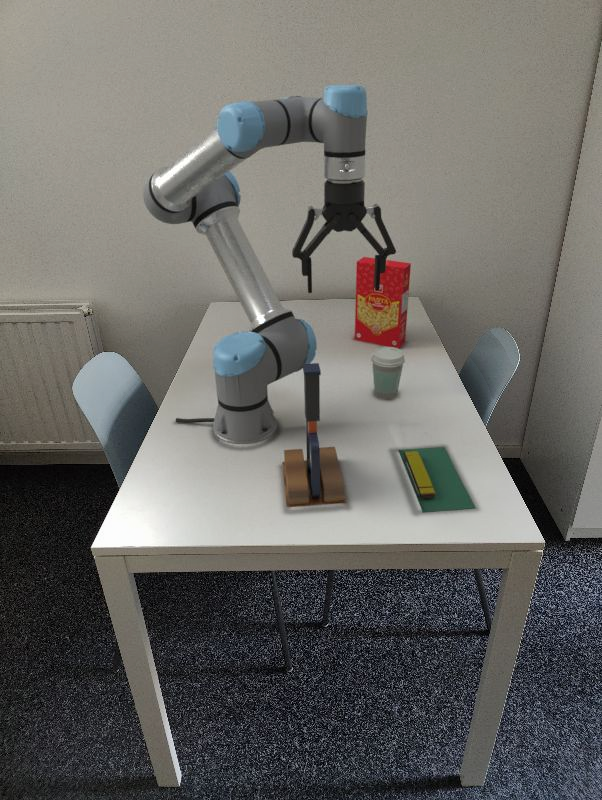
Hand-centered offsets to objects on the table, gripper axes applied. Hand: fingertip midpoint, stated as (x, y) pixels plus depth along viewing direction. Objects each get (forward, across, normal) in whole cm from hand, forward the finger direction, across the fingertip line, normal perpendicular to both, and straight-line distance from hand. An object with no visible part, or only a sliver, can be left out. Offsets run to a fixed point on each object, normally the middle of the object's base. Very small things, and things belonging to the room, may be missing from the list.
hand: (343, 289), depth 119 cm
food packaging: (+36, +17, +53) cm, 66 cm away
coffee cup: (+36, +14, +20) cm, 44 cm away
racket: (+35, -8, -18) cm, 40 cm away
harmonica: (+34, +15, -16) cm, 40 cm away
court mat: (+36, +17, -16) cm, 43 cm away
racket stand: (+36, -8, -17) cm, 41 cm away
